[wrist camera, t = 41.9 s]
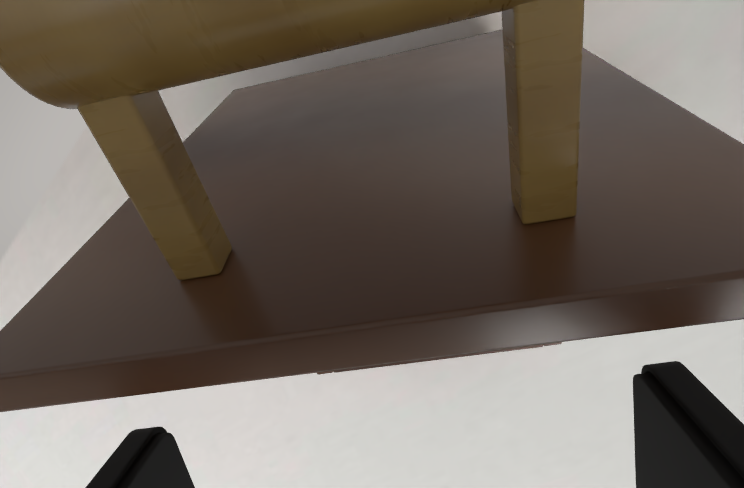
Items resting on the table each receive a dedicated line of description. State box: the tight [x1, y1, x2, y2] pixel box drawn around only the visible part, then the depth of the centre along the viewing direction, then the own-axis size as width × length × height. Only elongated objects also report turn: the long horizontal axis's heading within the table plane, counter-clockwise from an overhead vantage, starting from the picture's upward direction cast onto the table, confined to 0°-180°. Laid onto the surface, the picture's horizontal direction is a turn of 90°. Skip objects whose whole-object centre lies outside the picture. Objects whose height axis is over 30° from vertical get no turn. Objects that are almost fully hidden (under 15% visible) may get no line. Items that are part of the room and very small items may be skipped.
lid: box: [0, 0, 744, 412], centre depth 10 cm, size 13×11×5 cm
